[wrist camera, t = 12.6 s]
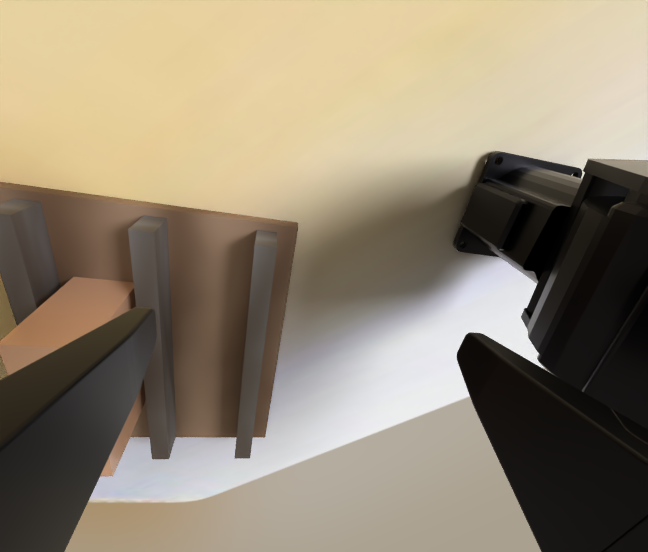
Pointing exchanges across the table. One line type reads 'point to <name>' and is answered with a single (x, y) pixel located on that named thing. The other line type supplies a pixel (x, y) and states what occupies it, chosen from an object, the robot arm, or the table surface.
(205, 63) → the table surface
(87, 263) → the ribbed brown panel
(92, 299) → the terracotta strip
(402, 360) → the table surface
